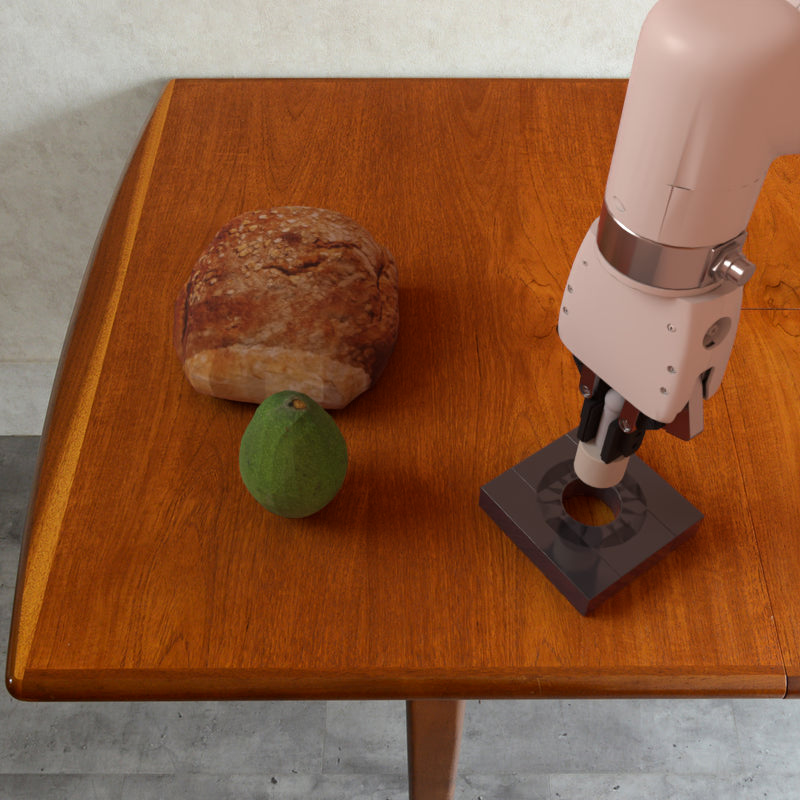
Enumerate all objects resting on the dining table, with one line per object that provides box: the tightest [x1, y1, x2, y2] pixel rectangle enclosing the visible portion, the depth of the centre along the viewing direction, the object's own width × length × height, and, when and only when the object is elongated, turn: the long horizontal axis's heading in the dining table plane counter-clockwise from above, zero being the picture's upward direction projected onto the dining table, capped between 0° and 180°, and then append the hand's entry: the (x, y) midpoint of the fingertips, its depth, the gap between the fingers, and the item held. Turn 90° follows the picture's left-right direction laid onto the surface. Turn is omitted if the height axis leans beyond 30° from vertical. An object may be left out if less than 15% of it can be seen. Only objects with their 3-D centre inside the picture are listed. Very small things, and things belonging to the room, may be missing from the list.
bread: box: [172, 205, 400, 410], centre depth 78 cm, size 20×18×10 cm
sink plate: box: [478, 425, 705, 618], centre depth 69 cm, size 12×12×2 cm
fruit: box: [238, 390, 349, 519], centre depth 67 cm, size 8×8×12 cm
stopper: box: [574, 388, 630, 488], centre depth 61 cm, size 4×4×8 cm
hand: (607, 440), depth 62 cm, fingers closed on stopper, 1 cm apart
